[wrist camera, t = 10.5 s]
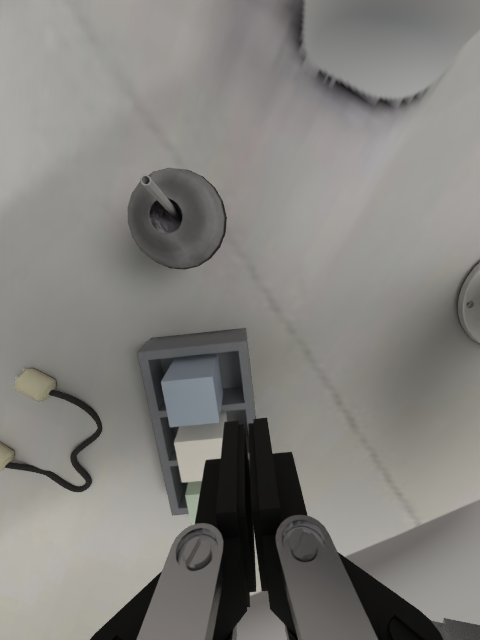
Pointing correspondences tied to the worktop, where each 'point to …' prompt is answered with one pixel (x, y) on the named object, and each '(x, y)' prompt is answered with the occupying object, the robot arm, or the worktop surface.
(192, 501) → the key sage
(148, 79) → the worktop surface
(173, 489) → the box
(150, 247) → the beverage cup
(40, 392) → the cable
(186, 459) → the key ivory
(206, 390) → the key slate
